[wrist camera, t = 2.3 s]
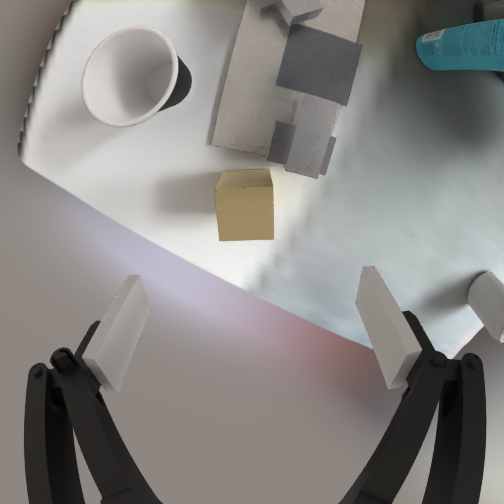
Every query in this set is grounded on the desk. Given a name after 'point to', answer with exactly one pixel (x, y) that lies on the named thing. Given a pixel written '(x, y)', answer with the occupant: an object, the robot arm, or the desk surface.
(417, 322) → the robot arm
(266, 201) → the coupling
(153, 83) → the dixie cup
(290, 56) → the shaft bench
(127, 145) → the desk surface
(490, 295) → the can
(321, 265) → the desk surface
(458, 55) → the tube
